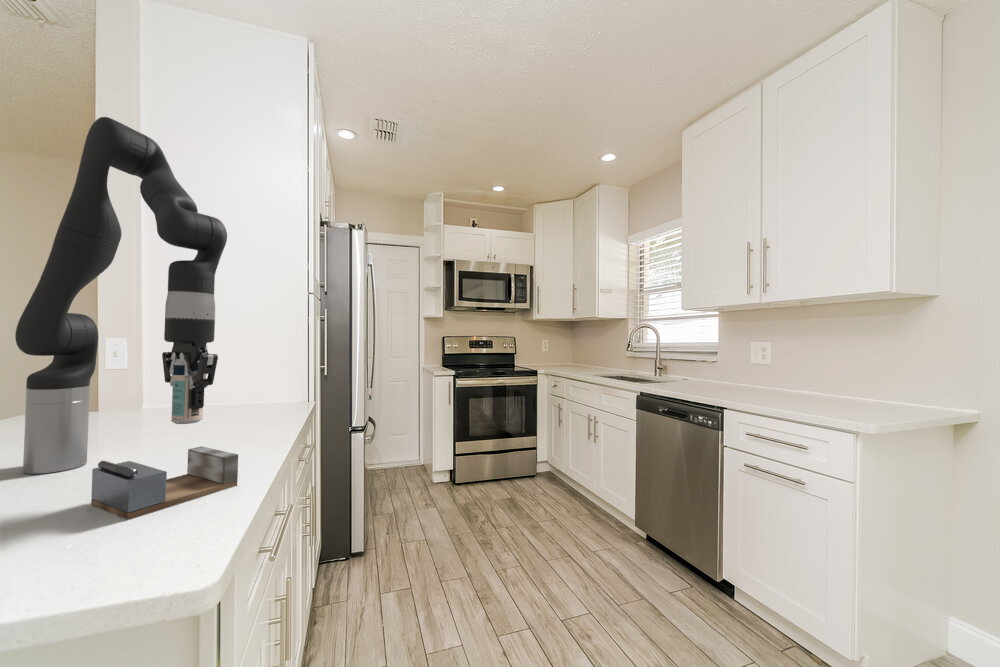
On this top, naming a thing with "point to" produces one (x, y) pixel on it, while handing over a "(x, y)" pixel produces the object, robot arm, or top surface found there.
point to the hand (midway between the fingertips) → (187, 406)
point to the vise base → (191, 481)
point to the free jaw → (128, 485)
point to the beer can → (182, 397)
